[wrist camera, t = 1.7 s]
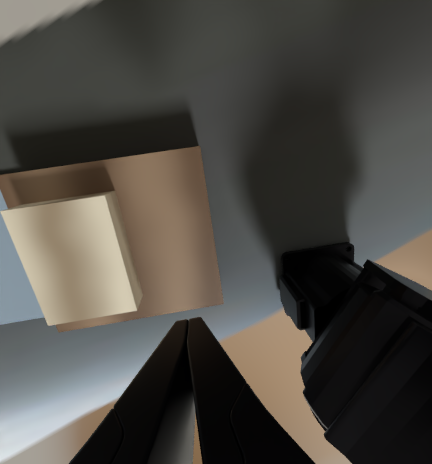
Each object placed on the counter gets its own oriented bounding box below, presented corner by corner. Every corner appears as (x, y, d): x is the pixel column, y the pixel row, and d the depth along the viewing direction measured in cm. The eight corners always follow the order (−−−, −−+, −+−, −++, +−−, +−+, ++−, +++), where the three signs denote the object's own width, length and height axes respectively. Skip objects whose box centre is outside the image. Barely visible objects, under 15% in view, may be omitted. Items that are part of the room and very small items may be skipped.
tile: (115, 190, 16) (104, 195, 14) (142, 294, 19) (137, 310, 17) (22, 204, 16) (0, 211, 14) (63, 308, 19) (48, 325, 17)
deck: (198, 147, 19) (199, 145, 16) (219, 284, 23) (223, 303, 20) (25, 172, 18) (-6, 175, 15) (76, 309, 22) (58, 332, 19)
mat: (25, 172, 18) (21, 173, 18) (76, 309, 22) (73, 312, 22) (-87, 188, 18) (-93, 189, 18) (-17, 324, 22) (-20, 327, 21)
